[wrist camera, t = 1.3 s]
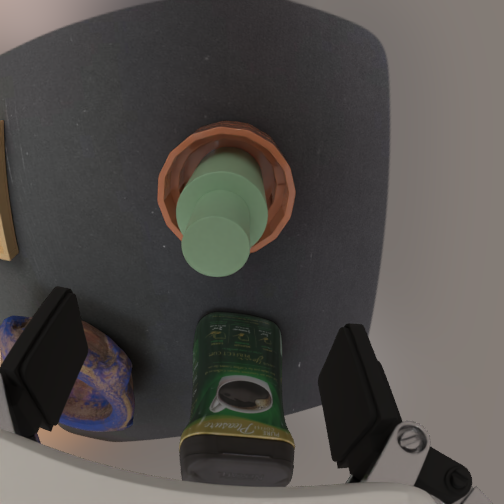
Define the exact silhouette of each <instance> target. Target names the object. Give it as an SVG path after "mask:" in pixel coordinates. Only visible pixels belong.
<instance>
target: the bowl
mask: <svg viewBox="0 0 504 504" xmlns="http://www.w3.org/2000/svg"><path fill="white" fill-rule="evenodd" d="M31 319H32V317H23V316H10V317H8V318H6V319H4V321H3V323H2V324H1V326H0V351H1V364H2V363H3V361H4V359H5V358H6V356H7V355H8V353H9V351H10V350H11V348H12V347H13V345H14V344H15V342H16V341H17V339H18V338H19V336H20V335H21V333H22V332H23V330H24V329H25V327H26V326H27V325H28V323H29V322H30V320H31ZM82 325H83V329H84V333H85V336H86V340H87V344H88V355H87V357H86V359H85V361H84V364H83V366H82V368H81V370H80V372H79V375H78V377H77V379H76V381H75V384H74V386H73V388H72V391H71V393H70V395H69V398H68V400H67V402H66V405H65V407H64V410H63V412H62V415H61V417H60V420H59V423H61V424H64V425H67V426H70V427H73V428H77V429H82V430H87V431H96V432H108V431H120V430H123V429H126V428H128V427H130V426H131V425H132V424H133V414H134V407H135V398H134V393H133V380H132V374H131V371H132V363H131V360H130V359H129V358H128V356H127V355H126V353H125V352H124V351H123V350H122V349H121V348H120V347H119V346H118V345H117V344H116V343H115V342H114V341H113V340H112V339H111V338H110V337H108V336H107V335H105V334H104V333H102V332H101V331H100V330H98V329H97V328H95V327H93V326H92V325H90V324H89V323H87V322H85V321H82Z"/></svg>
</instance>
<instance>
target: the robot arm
mask: <svg viewBox="0 0 504 504" xmlns="http://www.w3.org/2000/svg"><path fill="white" fill-rule="evenodd" d="M87 355H88V344H87V340H86V336H85V333H84V329H83V325H82V320H81V316H80V312H79V307H78V303H77V298H76V295H75V294H73V293H72V290H71V289H68V288H63V287H58V286H57V287H55V288H54V289H53V290H52V292H51V293H50V294H49V296H48V297H47V298H46V300H45V301H44V302H43V304H42V305H41V306H40V308H39V309H38V310H37V312H36V313H35V315H34V316H33V317H32V319H31V320H30V322H29V323H28V325H27V326H26V327H25V329H24V330H23V332H22V333H21V335H20V336H19V338H18V339H17V341H16V342H15V344H14V345H13V347H12V348H11V350H10V351H9V353H8V355H7V356H6V358H5V359H4V361H3V363H2V364H1V367H0V504H493V503H492V502H491V501H490V500H489V499H488V498H487V497H486V496H485V495H484V493H483V492H482V491H481V490H480V489H479V488H478V487H477V486H476V487H474V488H473V487H472V477H471V475H470V472H469V471H468V469H467V468H465V467H464V466H463V465H461V464H459V463H458V462H456V461H454V460H452V459H451V458H449V457H447V456H445V455H444V454H442V453H440V452H439V451H437V450H435V449H433V448H432V447H430V443H431V441H430V436H429V434H428V432H427V431H426V429H425V428H424V427H423V426H422V425H420V424H419V423H416V422H413V421H405V422H402V419H401V416H400V413H399V411H398V408H397V405H396V403H395V399H394V397H393V394H392V391H391V389H390V386H389V383H388V381H387V378H386V375H385V373H384V370H383V368H382V365H381V363H380V362H379V361H378V360H377V359H376V356H375V354H374V351H373V348H372V346H371V344H370V341H369V338H368V336H367V333H366V331H365V328H364V326H363V325H362V324H346V325H345V326H344V327H341V328H340V329H339V332H338V334H337V336H336V339H335V341H334V343H333V346H332V348H331V350H330V353H329V355H328V357H327V359H326V362H325V364H324V366H323V368H322V370H321V373H320V375H319V378H318V386H319V391H320V396H321V401H322V406H323V411H324V417H325V422H326V428H327V433H328V439H329V445H330V450H331V456H332V460H333V461H335V462H336V461H337V466H338V468H347V467H349V471H350V474H351V476H350V477H349V479H348V480H347V482H346V483H345V484H334V485H320V486H300V487H299V486H298V487H249V486H230V485H217V484H207V483H197V482H189V481H182V480H175V479H168V478H162V477H157V476H152V475H147V474H142V473H137V472H133V471H128V470H124V469H120V468H116V467H112V466H108V465H104V464H100V463H97V462H93V461H90V460H87V459H84V458H80V457H77V456H74V455H71V454H68V453H65V452H62V451H59V450H57V449H54V448H51V447H48V446H45V445H43V444H41V443H40V440H39V437H38V434H37V432H38V430H39V427H40V428H43V429H45V430H48V431H51V430H52V427H53V425H57V424H58V422H59V420H60V417H61V415H62V412H63V410H64V407H65V405H66V402H67V400H68V398H69V395H70V393H71V391H72V388H73V386H74V384H75V381H76V379H77V377H78V375H79V372H80V370H81V368H82V366H83V364H84V361H85V359H86V357H87Z"/></svg>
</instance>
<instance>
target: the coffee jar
mask: <svg viewBox="0 0 504 504" xmlns="http://www.w3.org/2000/svg"><path fill="white" fill-rule="evenodd" d="M294 449H295V445H294V440H293V438H292V436H291V434H290V432H289V430H288V428H287V426H286V423H285V418H284V412H283V403H282V339H281V332H280V329H279V328H278V326H277V325H276V324H274V323H273V322H271V321H269V320H267V319H263V318H260V317H255V316H251V315H245V314H239V313H230V312H213V313H210V314H208V315H206V316H205V317H203V318H202V319H201V320H200V322H199V323H198V325H197V328H196V332H195V337H194V345H193V396H192V407H191V416H190V422H189V424H188V425H187V427H186V428H185V430H184V431H183V433H182V436H181V440H180V445H179V453H180V465H181V475H182V481H189V482H197V483H207V484H217V485H230V486H249V487H286V486H287V485H288V484H289V482H290V481H291V479H292V474H293V468H294V465H293V462H294Z"/></svg>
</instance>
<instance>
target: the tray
mask: <svg viewBox="0 0 504 504" xmlns="http://www.w3.org/2000/svg"><path fill="white" fill-rule="evenodd" d="M18 253H19V251H18V246H17V242H16V237H15V231H14V226H13V220H12V214H11V208H10V201H9V193H8V185H7V175H6V163H5V147H4V120H1V121H0V259H3V260H8V261H11V260H12V259H13V258H14V257H15V256H16V255H17V254H18Z"/></svg>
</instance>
